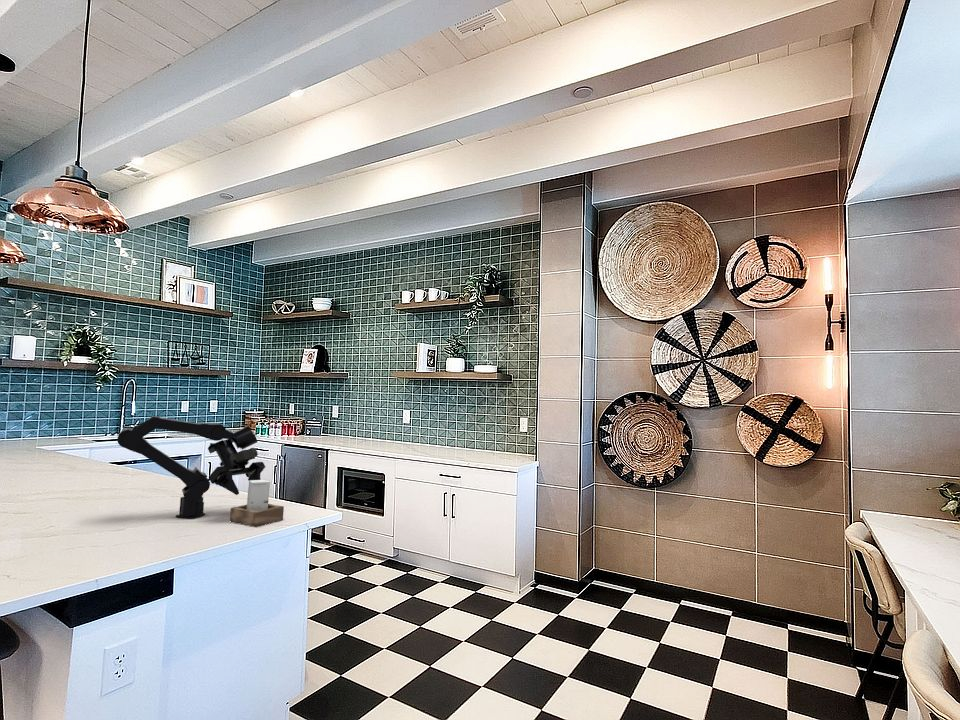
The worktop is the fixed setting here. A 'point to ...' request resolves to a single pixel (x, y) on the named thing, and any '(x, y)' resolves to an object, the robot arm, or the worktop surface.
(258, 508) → the skincare box
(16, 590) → the worktop surface
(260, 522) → the walnut socket
